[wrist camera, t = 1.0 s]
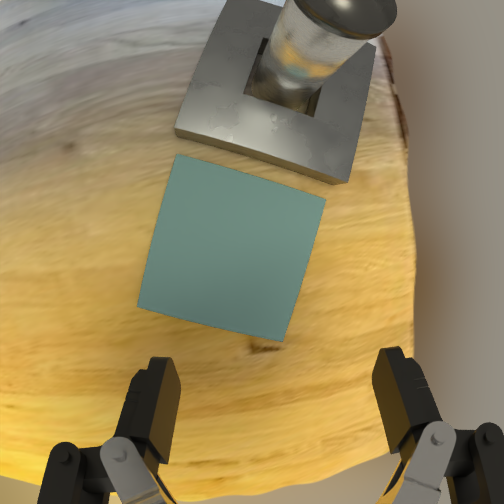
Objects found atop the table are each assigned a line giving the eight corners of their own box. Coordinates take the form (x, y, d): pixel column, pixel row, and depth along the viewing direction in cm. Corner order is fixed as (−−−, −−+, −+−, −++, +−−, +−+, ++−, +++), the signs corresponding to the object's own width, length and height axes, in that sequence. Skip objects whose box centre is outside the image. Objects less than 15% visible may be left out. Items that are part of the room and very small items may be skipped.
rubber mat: (138, 305, 26) (136, 306, 25) (177, 154, 25) (176, 153, 24) (281, 339, 28) (282, 342, 28) (324, 199, 27) (326, 199, 27)
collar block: (177, 136, 25) (173, 127, 22) (227, 10, 24) (230, -8, 21) (333, 185, 27) (347, 182, 24) (362, 58, 26) (376, 47, 23)
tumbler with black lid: (241, 104, 25) (283, 1, 10) (258, 55, 25) (307, -57, 10) (300, 124, 26) (392, 49, 11) (314, 74, 26) (399, -16, 11)
